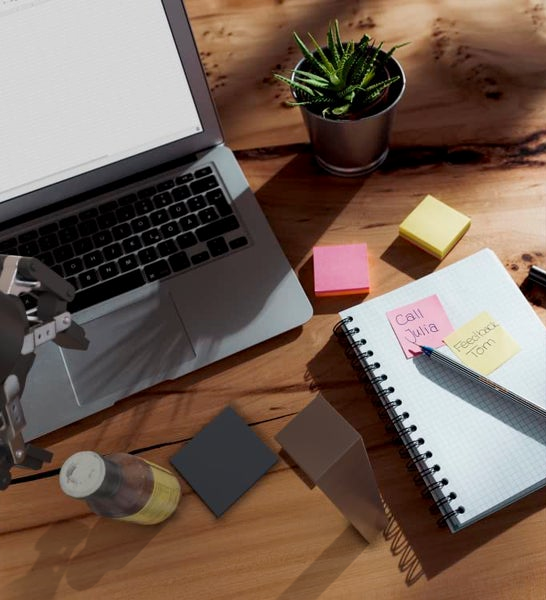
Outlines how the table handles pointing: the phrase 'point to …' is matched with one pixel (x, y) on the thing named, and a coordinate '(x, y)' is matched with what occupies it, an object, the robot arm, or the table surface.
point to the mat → (224, 461)
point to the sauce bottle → (121, 486)
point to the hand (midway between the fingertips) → (59, 399)
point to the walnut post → (336, 464)
